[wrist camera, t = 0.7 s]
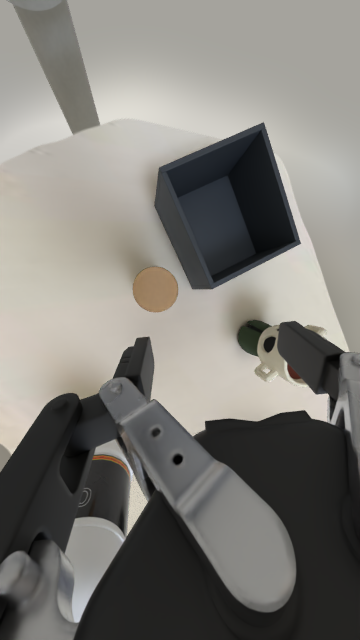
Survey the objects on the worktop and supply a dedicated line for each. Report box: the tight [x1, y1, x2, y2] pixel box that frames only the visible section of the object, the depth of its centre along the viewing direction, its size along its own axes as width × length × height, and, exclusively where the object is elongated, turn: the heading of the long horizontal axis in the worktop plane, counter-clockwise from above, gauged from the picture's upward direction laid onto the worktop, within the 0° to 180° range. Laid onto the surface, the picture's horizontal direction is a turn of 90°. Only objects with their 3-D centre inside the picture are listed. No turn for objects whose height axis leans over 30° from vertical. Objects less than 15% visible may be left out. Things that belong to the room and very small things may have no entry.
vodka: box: [65, 439, 133, 623], centre depth 19 cm, size 9×9×30 cm
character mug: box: [238, 320, 328, 387], centre depth 30 cm, size 11×7×13 cm, turn 128°
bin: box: [154, 123, 301, 289], centre depth 27 cm, size 14×13×10 cm
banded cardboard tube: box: [133, 267, 178, 312], centre depth 24 cm, size 4×4×15 cm
